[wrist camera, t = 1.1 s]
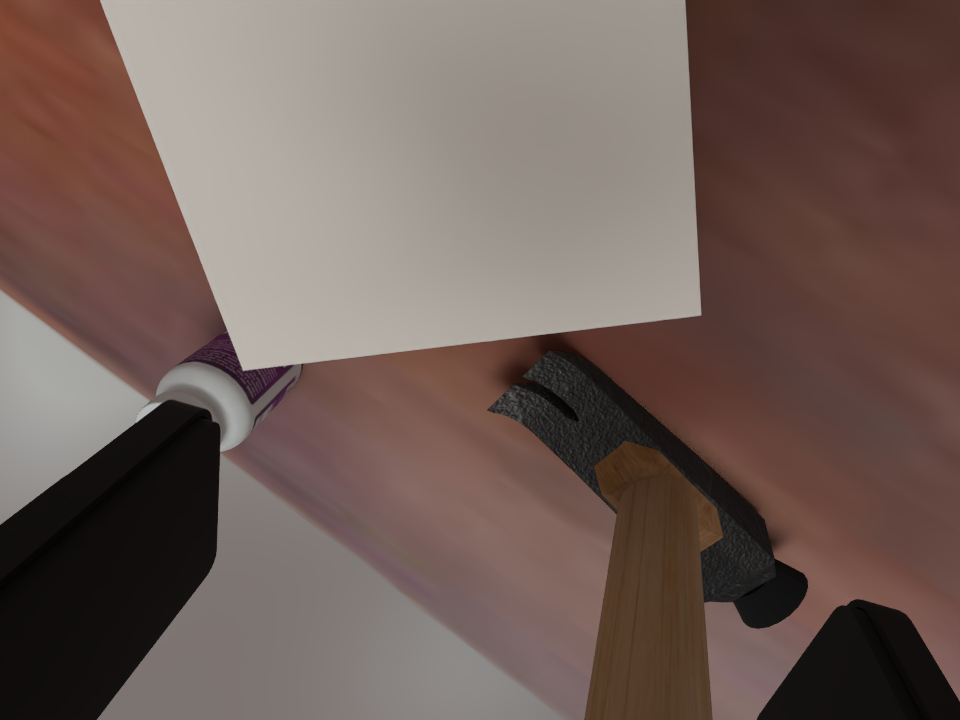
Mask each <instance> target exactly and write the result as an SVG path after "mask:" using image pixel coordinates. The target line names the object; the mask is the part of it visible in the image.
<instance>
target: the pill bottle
mask: <svg viewBox="0 0 960 720" xmlns="http://www.w3.org/2000/svg"><path fill="white" fill-rule="evenodd" d="M300 372H301V364H295V365H286V366H278V367H270V368H261V369H253V370H245V371H243V369H242V367H241V364H240V362H239V359H238V357H237V354H236V351H235V349H234V346H233V344H232V341H231V338H230V336H229V333H228V331H227V330H226V331H225V332H224V333H222V334H221V335H219V336H218V337H216V338H215V339H213V340H212V341H211V342H209V343H208V344H207V345H205V346H204V347H202V348H201V349H199V350H198V351H196V352H195V353H194V354H192V355H191V356H189V357H188V358H186V359H185V360H184V361H182V362H181V363H179V364H178V365H177V366H175V367H174V368H173V369H171V370H170V371H169V372H168V373H167V374H166V375H165V376H164V377H163V379H162V380H161V382H160V384H159V386H158V389H157V392H156V397H155V398H154V399H153V400H151V401H150V402H149V403H148V404H147V405H145V406H144V407H143V408H142V409H141V410H140V412H139V413H138V415H137V417H136V423H137V422H138V421H139V420H140V419H142V418H143V417H144V416H146V415H147V414H148V413H150V412H151V411H152V410H154V409H155V408H156V407H158V406H159V405H160V404H161V403H163V402H165V401H167V400H171V399H173V400H177V401H180V402H184V403H187V404H191V405H194V406H197V407H201V408H204V409H207V410H209V411H210V413H211V415H212V421H214V422H217V423H218V424H219V425H220V429H221V437H220V452H222V451H226V450H229V449H231V448H233V447H235V446H237V445H239V444H240V443H241V442H242V441H243V440H245V439H246V438H247V436H248V435H249V434H250V433H251V432H252V431H253V430H254V429H255V428H256V427H257V425H258V424H259V423H260V422H261V421H262V420H263V419H264V418H265V417H266V416H267V415H268V414H269V413H270V412H271V411H272V410H273V408H274V407H275V406H276V405H277V404H278V403H279V402H280V401H281V400H282V399H283V398H284V396H285V395H286V394H287V393H288V392H289V391H290V390H291V389H292V387H293V386H294V385H295V384H296V382H297V380H298V378H299V376H300Z"/></svg>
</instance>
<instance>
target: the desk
mask: <svg viewBox="0 0 960 720" xmlns="http://www.w3.org/2000/svg"><path fill="white" fill-rule="evenodd" d="M100 2H101V4H102V7H103V9H104V12H105V15H106V17H107V20H108V22H109V25H110V28H111V30H112V33H113V35H114V38H115V40H116V43H117V46H118V48H119V51H120V53H121V56H122V59H123V61H124V64H125V66H126V69H127V72H128V74H129V77H130V79H131V82H132V85H133V87H134V90H135V92H136V95H137V97H138V100H139V103H140V105H141V108H142V110H143V113H144V116H145V118H146V121H147V123H148V126H149V129H150V131H151V134H152V136H153V139H154V142H155V144H156V147H157V149H158V152H159V154H160V157H161V160H162V162H163V165H164V167H165V170H166V173H167V175H168V178H169V180H170V183H171V186H172V188H173V191H174V193H175V196H176V198H177V201H178V204H179V206H180V209H181V211H182V214H183V217H184V219H185V222H186V224H187V227H188V230H189V232H190V235H191V237H192V240H193V243H194V245H195V248H196V250H197V253H198V255H199V258H200V261H201V263H202V266H203V268H204V271H205V274H206V276H207V279H208V281H209V284H210V287H211V289H212V292H213V294H214V297H215V300H216V302H217V305H218V307H219V310H220V312H221V315H222V318H223V320H224V323H225V325H226V328H227V331H228V333H229V336H230V338H231V341H232V344H233V346H234V349H235V351H236V354H237V357H238V359H239V362H240V364H241V367H242V369H243V371H245V370H253V369H261V368H270V367H278V366H286V365H295V364H303V363H311V362H320V361H328V360H336V359H344V358H353V357H361V356H369V355H378V354H386V353H394V352H402V351H411V350H419V349H427V348H436V347H444V346H452V345H461V344H469V343H477V342H485V341H494V340H502V339H510V338H519V337H527V336H535V335H544V334H552V333H560V332H568V331H577V330H585V329H593V328H602V327H610V326H618V325H626V324H635V323H643V322H651V321H660V320H668V319H676V318H685V317H693V316H701V301H700V281H699V261H698V241H697V222H696V202H695V182H694V162H693V142H692V123H691V103H690V83H689V63H688V43H687V24H686V4H685V0H100Z"/></svg>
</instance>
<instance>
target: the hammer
mask: <svg viewBox="0 0 960 720" xmlns="http://www.w3.org/2000/svg"><path fill="white" fill-rule="evenodd" d="M522 377H524V378H526V379H528V380H531V381H534V382H537V383H539V384H529V383H517V384H514V385H513V386H512V387H511V388H510V389H509V390H508V391H507V392H506V393H504V394H503V395H502V396H501V397H500V398H499V399H498V400H497V401H496V402H495V403H494V404H493V405H492V406H491V407H490V408H489V409H488V410H487V411H490V412H493V413H498V414H502V415H505V416H507V417H510V418H512V419H514V420H516V421H518V422H519V423H521V424H522V425H524V426H525V427H527V428H528V429H529V430H530V431H531V432H533V433H534V434H535V435H536V436H537V437H538V438H539V439H540V440H541V441H542V442H543V443H544V444H545V445H546V446H547V447H548V448H550V449H551V450H552V451H553V452H554V453H555V454H556V455H557V456H558V457H559V458H560V459H561V460H562V461H563V462H564V463H565V464H566V465H567V466H568V467H569V468H570V469H572V470H573V471H574V472H575V473H576V474H577V475H578V476H579V477H580V478H581V479H582V480H583V481H584V482H585V483H586V484H587V485H588V486H589V487H590V488H591V489H592V490H593V491H594V492H595V493H596V494H597V495H598V496H599V497H600V498H601V499H602V500H603V501H604V502H605V503H606V504H607V505H608V506H609V507H610V508H611V509H612V510H613V511H614V512H615V513H616V514H617V517H616V524H615V530H614V536H613V543H612V549H611V555H610V562H609V568H608V574H607V580H606V587H605V593H604V599H603V606H602V612H601V618H600V625H599V631H598V637H597V644H596V650H595V656H594V662H593V669H592V675H591V681H590V688H589V694H588V700H587V707H586V713H585V719H584V720H712V706H711V693H710V679H709V665H708V652H707V638H706V624H705V611H704V602H710V601H712V602H733V603H734V605H735V606H736V608H737V610H738V612H739V614H740V616H741V618H742V620H743V622H744V623H745V624H746V625H747V626H749V627H751V628H757V629H759V628H766V627H770V626H772V625H774V624H777V623H779V622H781V621H782V620H784V619H785V618H786V617H788V616H789V615H791V614H792V613H793V612H794V611H795V610H796V609H797V608H798V607H799V605H800V604H801V602H802V600H803V599H804V597H805V595H806V592H807V589H808V581H807V578H806V577H805V575H804V574H803V573H801V572H799V571H798V570H796V569H794V568H792V567H790V566H788V565H786V564H784V563H782V562H780V561H778V560H776V559H775V558H774V555H773V551H772V547H771V543H770V539H769V536H768V532H767V528H766V524H765V520H764V519H763V518H762V517H761V516H760V515H759V514H758V513H757V512H756V511H755V510H754V509H753V508H752V507H751V506H750V505H749V504H748V503H747V502H746V501H745V500H744V499H743V498H741V497H740V496H739V495H738V494H737V493H736V492H735V491H734V490H733V489H732V488H731V487H730V486H729V485H728V484H727V483H726V482H725V481H724V480H723V479H722V478H721V477H720V476H719V475H718V474H717V473H716V472H714V471H713V470H712V469H711V468H710V467H709V466H708V465H707V464H706V463H705V462H704V461H703V460H702V459H701V458H700V457H699V456H698V455H697V454H696V453H694V452H693V451H692V450H691V449H690V448H689V447H688V446H686V445H685V444H684V443H683V442H682V441H681V440H680V439H678V438H677V437H676V436H675V435H674V434H673V433H672V432H671V431H669V430H668V429H667V428H666V427H665V426H664V425H663V424H661V423H660V422H659V421H658V420H657V419H656V418H655V417H653V416H652V415H651V414H650V413H649V412H648V411H647V410H645V409H644V408H643V407H642V406H641V405H640V404H639V403H638V402H636V401H635V400H634V399H633V398H632V397H631V396H630V395H628V394H627V393H626V392H625V391H624V390H623V389H622V388H621V387H619V386H618V385H617V384H616V383H615V382H614V381H613V380H612V379H610V378H609V377H608V376H607V375H606V374H605V373H604V372H603V371H601V370H600V369H599V368H597V367H596V366H594V365H593V364H592V363H590V362H588V361H587V360H585V359H583V358H581V357H579V356H577V355H574V354H571V353H565V352H560V351H555V350H551V351H549V352H548V353H547V354H546V355H545V356H544V357H542V358H541V359H540V360H539V361H538V362H537V363H536V364H535V365H534V366H533V367H532V368H531V369H530V370H529V371H528V372H527V373H526V374H525V375H523V376H522ZM540 384H541V385H540Z"/></svg>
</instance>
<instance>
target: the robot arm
mask: <svg viewBox="0 0 960 720" xmlns="http://www.w3.org/2000/svg"><path fill="white" fill-rule="evenodd" d="M220 437H221V429H220V425H219V424H218V423H217V422H214V421H212V415H211V413H210V411H209V410H207V409H204V408H201V407H197V406H194V405H191V404H187V403H184V402H180V401H177V400H173V399H171V400H167V401H165V402H163V403H161V404H160V405H159V406H158V407H156V408H155V409H154V410H152V411H151V412H150V413H148V414H147V415H146V416H144V417H143V418H142V419H140V420H139V421H138V422H137V423H135V424H134V425H133V426H131V427H130V428H129V429H128V430H126V431H125V432H123V433H122V434H121V435H119V436H118V437H117V438H116V439H114V440H113V441H112V442H110V443H109V444H108V445H106V446H105V447H104V448H102V449H101V450H100V451H98V452H97V453H96V454H94V455H93V456H92V457H90V458H89V459H88V460H87V461H85V462H84V463H83V464H81V465H80V466H79V467H77V468H76V469H75V470H73V471H72V472H71V473H69V474H68V475H66V476H65V477H63V478H62V479H60V480H59V481H58V482H56V483H55V484H54V485H52V486H51V487H50V488H48V489H47V490H46V491H44V492H43V493H42V494H40V495H39V496H38V497H37V498H35V499H34V500H33V501H32V502H30V503H29V504H27V505H26V506H25V507H23V508H22V509H21V510H19V511H18V512H17V513H15V514H14V515H13V516H12V517H10V518H9V519H7V520H6V521H5V522H4V523H2V524H1V525H0V720H97V719H98V717H99V716H100V715H101V713H102V712H103V711H104V709H105V708H106V707H107V705H108V704H109V703H110V701H111V700H112V699H113V698H114V696H115V695H116V694H117V692H118V691H119V690H120V688H121V687H122V686H123V685H124V683H125V682H126V681H127V679H128V678H129V677H130V675H131V674H132V673H133V671H134V670H135V669H136V668H137V666H138V665H139V664H140V662H141V661H142V660H143V658H144V657H145V656H146V654H147V653H148V652H149V651H150V649H151V648H152V647H153V645H154V644H155V643H156V642H157V640H158V639H159V637H160V636H161V635H162V634H163V632H164V631H165V630H166V628H167V627H168V626H169V625H170V623H171V622H172V621H173V619H174V618H175V617H176V615H177V614H178V613H179V611H180V610H181V609H182V608H183V606H184V605H185V604H186V602H187V601H188V600H189V598H190V597H191V596H192V594H193V593H194V592H195V591H196V589H197V588H198V587H199V585H200V584H201V583H202V581H203V580H204V579H205V578H206V576H207V575H208V573H209V571H210V569H211V568H212V565H213V563H214V560H215V557H216V551H217V525H218V496H219V494H218V493H219V466H220ZM757 720H960V701H959V700H958V698H957V696H956V695H955V693H954V691H953V690H952V688H951V686H950V685H949V683H948V681H947V680H946V678H945V676H944V675H943V673H942V671H941V670H940V668H939V666H938V665H937V663H936V661H935V660H934V658H933V656H932V655H931V653H930V651H929V650H928V648H927V646H926V645H925V643H924V641H923V640H922V638H921V636H920V635H919V633H918V631H917V630H916V628H915V626H914V625H913V623H912V621H911V620H910V619H909V618H908V616H907V615H906V614H904V613H903V612H901V611H899V610H896V609H892V608H889V607H885V606H882V605H878V604H875V603H871V602H868V601H865V600H859V599H856V600H853V601H851V602H850V603H849V604H848V605H847V606H843V605H841V606H839V607H837V608H836V609H835V610H834V611H833V613H832V614H831V615H830V617H829V618H828V620H827V621H826V622H825V624H824V625H823V627H822V628H821V629H820V631H819V632H818V633H817V635H816V636H815V638H814V639H813V640H812V642H811V643H810V645H809V646H808V647H807V649H806V650H805V652H804V653H803V654H802V656H801V657H800V659H799V660H798V661H797V663H796V664H795V666H794V667H793V668H792V670H791V671H790V672H789V674H788V675H787V677H786V678H785V679H784V681H783V682H782V684H781V685H780V686H779V688H778V689H777V691H776V692H775V693H774V695H773V696H772V698H771V699H770V700H769V702H768V703H767V704H766V706H765V707H764V709H763V710H762V711H761V713H760V714H759V716H758V718H757Z"/></svg>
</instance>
